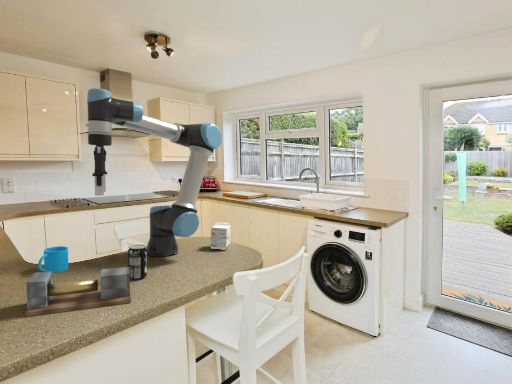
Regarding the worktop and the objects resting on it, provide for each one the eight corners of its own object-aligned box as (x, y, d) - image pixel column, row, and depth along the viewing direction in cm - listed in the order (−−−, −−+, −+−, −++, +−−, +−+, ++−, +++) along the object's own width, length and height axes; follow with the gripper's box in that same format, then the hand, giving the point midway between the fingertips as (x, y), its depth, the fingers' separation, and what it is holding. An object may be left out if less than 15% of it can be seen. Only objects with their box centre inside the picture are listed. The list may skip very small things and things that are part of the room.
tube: (98, 288, 101) (98, 277, 100) (97, 292, 97) (97, 281, 97) (38, 295, 94) (38, 283, 94) (35, 300, 91) (35, 287, 91)
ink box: (210, 249, 160) (210, 223, 159) (214, 245, 168) (215, 220, 167) (226, 251, 159) (227, 224, 157) (230, 246, 167) (231, 221, 166)
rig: (129, 288, 108) (129, 262, 108) (130, 302, 97) (130, 274, 97) (36, 299, 98) (35, 270, 97) (25, 316, 87) (24, 285, 86)
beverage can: (142, 273, 123) (142, 243, 122) (149, 277, 119) (149, 246, 118) (125, 277, 119) (125, 245, 118) (132, 282, 114) (132, 249, 113)
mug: (56, 264, 130) (56, 245, 129) (73, 267, 128) (73, 247, 127) (29, 274, 118) (29, 253, 117) (47, 277, 116) (47, 255, 116)
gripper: (91, 135, 122) (91, 190, 124) (84, 130, 99) (85, 197, 101) (112, 137, 125) (112, 190, 127) (110, 132, 102) (110, 197, 104)
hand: (100, 193), depth 114 cm, fingers open, 13 cm apart
